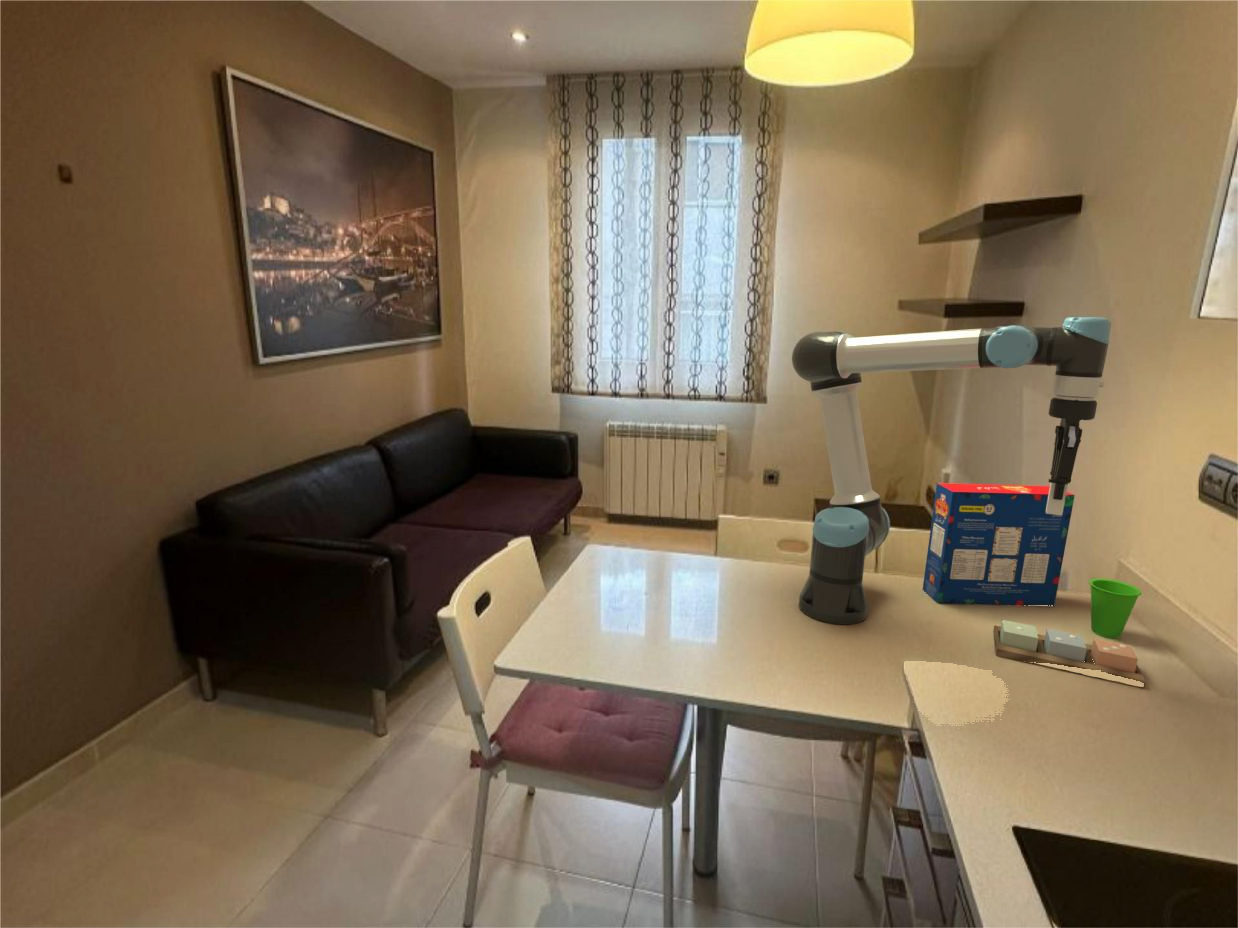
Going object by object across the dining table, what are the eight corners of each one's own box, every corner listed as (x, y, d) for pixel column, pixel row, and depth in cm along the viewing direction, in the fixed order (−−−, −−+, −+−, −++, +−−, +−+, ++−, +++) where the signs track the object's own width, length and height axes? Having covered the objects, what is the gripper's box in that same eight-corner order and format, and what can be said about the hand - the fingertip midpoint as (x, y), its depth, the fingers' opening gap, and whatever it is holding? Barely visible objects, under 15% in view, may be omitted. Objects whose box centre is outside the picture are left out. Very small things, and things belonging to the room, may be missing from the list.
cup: (1140, 645, 136) (1151, 597, 133) (1092, 640, 137) (1102, 592, 135) (1117, 626, 144) (1127, 580, 142) (1072, 621, 146) (1081, 576, 144)
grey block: (1046, 659, 128) (1050, 640, 127) (1043, 646, 134) (1046, 628, 133) (1082, 666, 126) (1086, 647, 125) (1078, 653, 131) (1081, 634, 130)
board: (995, 655, 130) (996, 648, 130) (993, 631, 140) (994, 625, 140) (1143, 688, 119) (1145, 681, 119) (1129, 659, 129) (1130, 652, 129)
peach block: (1095, 669, 125) (1099, 650, 124) (1090, 656, 130) (1093, 637, 129) (1133, 677, 122) (1138, 658, 121) (1126, 663, 127) (1130, 644, 126)
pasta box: (1033, 593, 162) (1052, 486, 155) (1054, 606, 154) (1074, 494, 148) (922, 590, 162) (936, 483, 156) (937, 603, 154) (952, 491, 148)
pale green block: (1000, 649, 132) (1003, 630, 131) (999, 637, 137) (1002, 619, 136) (1035, 656, 129) (1038, 637, 128) (1032, 643, 134) (1035, 625, 134)
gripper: (1104, 402, 118) (1081, 525, 123) (1091, 396, 129) (1071, 508, 134) (1055, 399, 121) (1035, 518, 126) (1047, 393, 132) (1029, 503, 137)
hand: (1053, 513), depth 130 cm, fingers closed
